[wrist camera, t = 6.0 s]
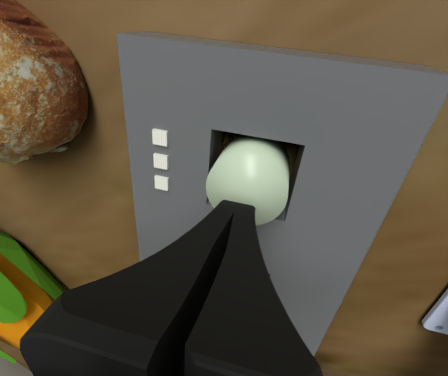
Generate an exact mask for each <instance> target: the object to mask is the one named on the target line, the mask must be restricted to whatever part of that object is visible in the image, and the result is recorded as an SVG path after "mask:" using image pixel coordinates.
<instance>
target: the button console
mask: <svg viewBox="0 0 448 376" xmlns="http://www.w3.org/2000/svg"><path fill="white" fill-rule="evenodd" d="M117 43H118V53H119V63H120V72H121V82H122V92H123V102H124V112H125V121H126V131H127V141H128V151H129V160H130V170H131V180H132V190H133V200H134V209H135V219H136V229H137V239H138V248H139V258H140V261H142V260H144V259H146V258H148V257H149V256H151V255H153V254H155V253H157V252H158V251H160V250H162V249H163V248H165V247H166V246H168V245H170V244H171V243H173V242H174V241H175V240H177V239H178V238H180V237H181V236H182V235H184V234H185V233H186V232H188V231H189V230H190V229H192V228H193V227H194V226H195V225H196V224H198V223H199V222H200V221H201V220H202V219H203V218H204V217H206V216H207V215H208V214H209V213H210V212H211V211H212V210H213V209H214V208H213V207H212V205H211V203H210V201H209V199H208V197H207V193H206V180H207V177H208V174H209V172H210V170H211V169H212V167H213V165H214V164H215V162H216V161H217V159H218V157H219V156H220V154H221V152H222V141H223V131H225V132H231V133H237V134H242V135H248V136H254V137H260V138H265V139H271V140H277V141H283V142H288V143H294V144H300V145H299V149H298V153H297V157H296V161H295V165H294V168H293V172H292V176H291V180H290V184H289V189H288V199H287V203H286V206H285V208H284V210H283V211H282V212H281V214H280V215H279V216H278V217H276V218H275V219H274V220H272V221H270V222H268V223H265V224H262V225H256V230H257V235H258V240H259V245H260V248H261V252H262V255H263V259H264V262H265V265H266V268H267V271H268V273H269V276H270V278H271V281H272V283H273V285H274V288H275V290H276V292H277V294H278V296H279V298H280V300H281V302H282V304H283V306H284V308H285V310H286V312H287V314H288V316H289V318H290V320H291V321H292V323H293V325H294V326H295V328H296V330H297V331H298V333H299V335H300V336H301V338H302V340H303V341H304V343H305V344H306V346H307V347H308V349H309V351H310V352H311V354H312V355H313V356H314V355H315V353H316V351H317V349H318V347H319V345H320V343H321V341H322V339H323V337H324V335H325V334H326V332H327V330H328V328H329V326H330V324H331V322H332V320H333V318H334V316H335V314H336V312H337V310H338V308H339V306H340V304H341V302H342V300H343V298H344V296H345V294H346V292H347V290H348V288H349V287H350V285H351V283H352V281H353V279H354V277H355V275H356V273H357V271H358V269H359V267H360V265H361V263H362V261H363V259H364V257H365V255H366V253H367V251H368V249H369V247H370V245H371V243H372V241H373V240H374V238H375V236H376V234H377V232H378V230H379V228H380V226H381V224H382V222H383V220H384V218H385V216H386V214H387V212H388V210H389V208H390V206H391V204H392V202H393V200H394V198H395V196H396V194H397V193H398V191H399V189H400V187H401V185H402V183H403V181H404V179H405V177H406V175H407V173H408V171H409V169H410V167H411V165H412V163H413V161H414V159H415V157H416V155H417V153H418V151H419V149H420V147H421V145H422V144H423V142H424V140H425V138H426V136H427V134H428V132H429V130H430V128H431V126H432V124H433V122H434V120H435V118H436V116H437V114H438V112H439V110H440V108H441V106H442V104H443V102H444V100H445V98H446V97H447V95H448V73H447V72H444V71H441V70H438V69H435V68H432V67H429V66H425V65H417V64H409V63H401V62H392V61H384V60H376V59H368V58H360V57H352V56H343V55H335V54H327V53H319V52H311V51H303V50H294V49H286V48H278V47H270V46H262V45H254V44H245V43H237V42H229V41H221V40H213V39H205V38H196V37H188V36H180V35H172V34H164V33H156V32H129V33H117Z"/></svg>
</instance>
